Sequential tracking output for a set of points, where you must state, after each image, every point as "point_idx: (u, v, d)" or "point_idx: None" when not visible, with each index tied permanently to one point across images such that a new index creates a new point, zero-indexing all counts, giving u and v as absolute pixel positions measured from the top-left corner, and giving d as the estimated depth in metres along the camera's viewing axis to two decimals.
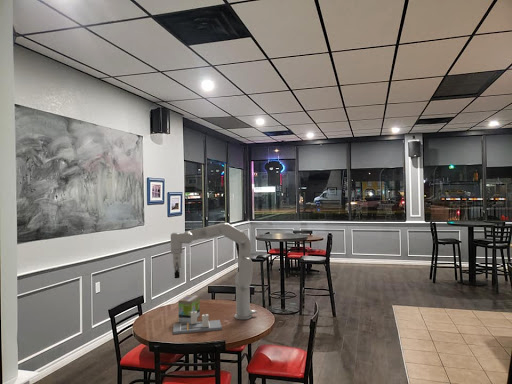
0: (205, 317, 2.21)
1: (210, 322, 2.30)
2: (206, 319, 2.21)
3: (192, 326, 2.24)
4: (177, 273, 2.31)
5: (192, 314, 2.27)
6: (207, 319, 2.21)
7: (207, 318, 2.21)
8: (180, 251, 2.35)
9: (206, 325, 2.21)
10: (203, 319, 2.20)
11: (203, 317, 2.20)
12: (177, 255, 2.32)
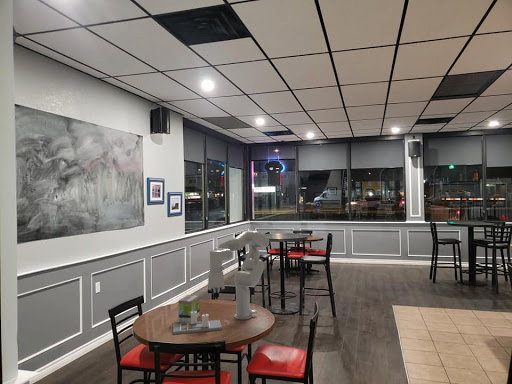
0: (205, 317, 2.21)
1: (210, 322, 2.30)
2: (206, 319, 2.21)
3: (192, 326, 2.24)
4: (218, 293, 2.24)
5: (192, 314, 2.27)
6: (207, 319, 2.21)
7: (207, 318, 2.21)
8: None
9: (206, 325, 2.21)
10: (203, 319, 2.20)
11: (203, 317, 2.20)
12: None
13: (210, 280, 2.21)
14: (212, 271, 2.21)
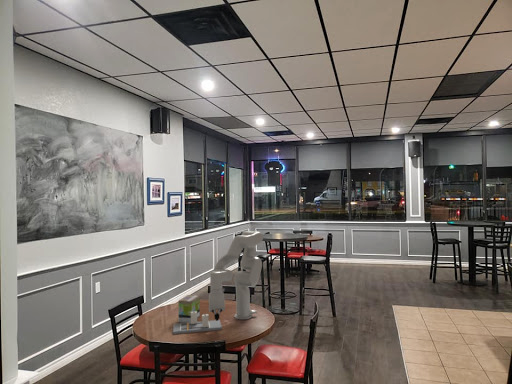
0: (205, 317, 2.21)
1: (210, 322, 2.30)
2: (206, 319, 2.21)
3: (192, 326, 2.24)
4: None
5: (192, 314, 2.27)
6: (207, 319, 2.21)
7: (207, 318, 2.21)
8: None
9: (206, 325, 2.21)
10: (203, 319, 2.20)
11: (203, 317, 2.20)
12: (223, 293, 2.25)
13: (210, 302, 2.21)
14: (212, 293, 2.21)
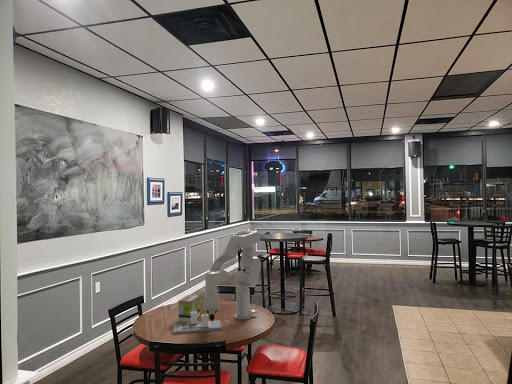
0: (205, 317, 2.21)
1: (210, 322, 2.30)
2: (205, 319, 2.21)
3: (192, 326, 2.24)
4: None
5: (192, 314, 2.27)
6: (207, 319, 2.21)
7: (206, 318, 2.21)
8: None
9: (206, 325, 2.21)
10: (202, 319, 2.20)
11: (203, 317, 2.20)
12: (218, 294, 2.25)
13: (205, 302, 2.20)
14: (207, 293, 2.20)
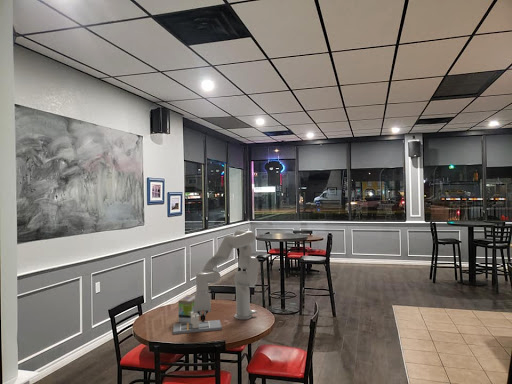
0: (195, 318, 2.20)
1: (210, 322, 2.30)
2: (196, 320, 2.20)
3: (192, 326, 2.24)
4: None
5: (192, 314, 2.27)
6: (197, 320, 2.20)
7: (197, 319, 2.20)
8: None
9: (196, 326, 2.20)
10: (193, 320, 2.19)
11: (193, 318, 2.19)
12: (209, 295, 2.24)
13: (196, 303, 2.19)
14: (198, 294, 2.19)
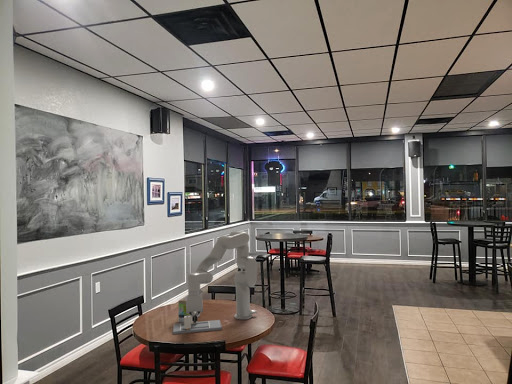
0: (187, 319, 2.19)
1: (210, 322, 2.30)
2: (188, 321, 2.19)
3: (192, 326, 2.24)
4: None
5: None
6: (189, 321, 2.19)
7: (189, 319, 2.19)
8: None
9: (188, 327, 2.19)
10: (185, 320, 2.18)
11: (185, 319, 2.18)
12: (201, 295, 2.23)
13: (188, 304, 2.18)
14: (190, 295, 2.18)
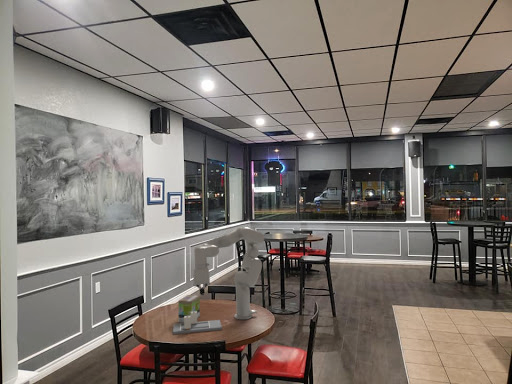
0: (187, 319, 2.19)
1: (210, 322, 2.30)
2: (188, 321, 2.19)
3: (192, 326, 2.24)
4: None
5: (192, 314, 2.27)
6: (189, 321, 2.19)
7: (189, 319, 2.19)
8: None
9: (188, 327, 2.19)
10: (185, 320, 2.18)
11: (185, 319, 2.18)
12: None
13: (195, 276, 2.21)
14: (197, 267, 2.21)
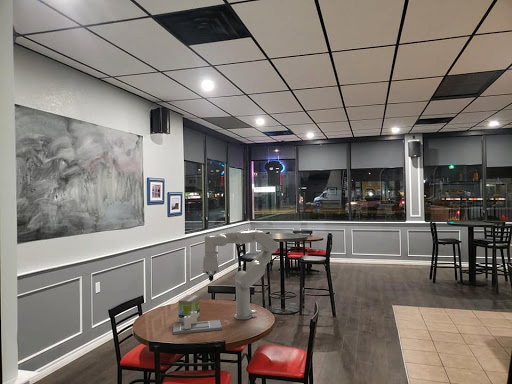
0: (187, 319, 2.19)
1: (210, 322, 2.30)
2: (188, 321, 2.19)
3: (192, 326, 2.24)
4: None
5: (192, 314, 2.27)
6: (189, 321, 2.19)
7: (189, 319, 2.19)
8: None
9: (188, 327, 2.19)
10: (185, 320, 2.18)
11: (185, 319, 2.18)
12: None
13: (205, 263, 2.34)
14: (207, 255, 2.34)
